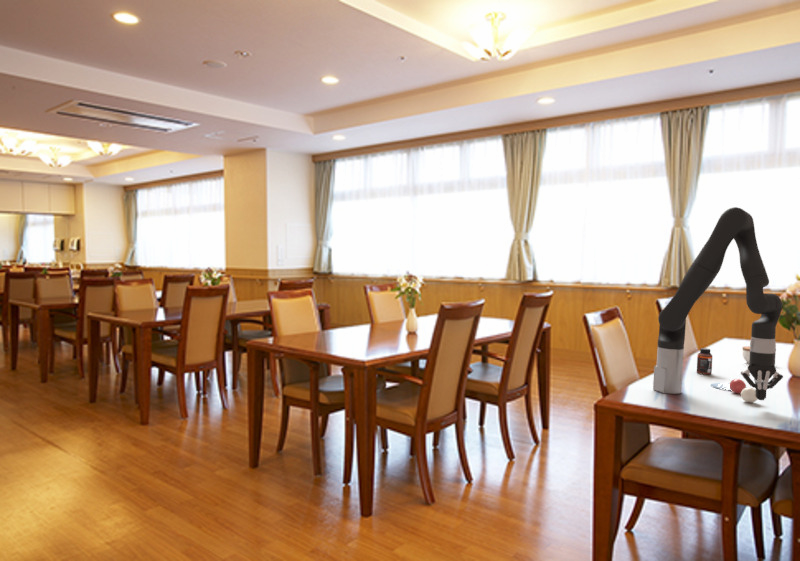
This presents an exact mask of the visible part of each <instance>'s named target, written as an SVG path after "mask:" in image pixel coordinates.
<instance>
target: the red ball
mask: <svg viewBox="0 0 800 561" xmlns="http://www.w3.org/2000/svg"><path fill="white" fill-rule="evenodd" d="M729 384H730V389H731V390H732V391H733V393H735V394H741V391H742V390H743V389H744V388H746V387H747V385H746V383H745V382H744V381H743V380H742V379H740V378H734V379H732V380H731V381H730V382H729ZM732 391H731V392H732Z"/></svg>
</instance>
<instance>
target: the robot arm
mask: <svg viewBox="0 0 800 561" xmlns="http://www.w3.org/2000/svg"><path fill="white" fill-rule="evenodd" d="M756 237H757V236H756V230H755V223H754V218H753V216H752V215H751V214H750V213H749V212H747V211H746V210H744V209H743V208H740V207H730V208H727V209H726V210H725V211H724V212H723V213H722V214H721V215H720V217H719V218H718V221H717V222H716V224H715V226H714V228H713V231H712V232H711V234H710V236H709V238H708V239H707V241H706V242H705V244H704V245H703V247H702V248H701V250H700V251H699V253H698V255H697V256H696V258H694V260H693V262H692V263H691V264H690V267H689V268H688V269H687V271H686V273H685V275H684V276H683V279H682V281H681V282H680V285H678V286H679V287H678V288H677V290H676V292H675V293H674V295H673V297H672V298H671V299H670V301H669V302H668V303H667V305H665V307H664V308H663V309H662V310H661V311H660V312H659V314H658V317H657V320H658V324H659V325H658V326H659V327H658V328H659V330H658V337H657V351H656V365H654V366H653V382H652V385H653V386H652V390H654V391H656V392H658V393H659V392H660V393H663V394H670V395H671V394H674V395H678V394H682V389H683V388H682V385H683V368H684V353H685V352H684V351H685V349H684V348H685V339H686V327H687V326H686V324H687V317H688V315H689V314H690V312H691V310H692V308H693V307H694V304H695V303H696V302H697V301H698V300H699V299H700V297H701V296H702V295H703V294H704V293H705V292H706V291H707V289H708V288H710V285H712V283H713V282H714V280H715V279H716V277H717V275H718V274H719V272H720V271H721V269H722V266H723V263H724V259H725V257H726V256H725V255H726V252H727V249H728V247H729V245H730V244H731V243H732V242H733V240H734V242H735V243H736V245H737V246H736V247H737V250H738V254H739V266H740V270H741V274H742V276H743V280H744V283H745V287H746V289H745V293H746V294H745V296H746V298H745V300H746V305H747V307H748V309H749V311H751V312H752V313H753V314H757V315H760V317H759V319H756V320H754V321H753V322H752V323H751V337H750V343H749V346H750V360H749V365H748V366H747V369H746V370H743V371H741V372H740V375H741V376H742V377H743V379H744V380H745V381H746V383H747V384H748V385H749V387H751V388H753V389H755V390H756V394H755V396H756V398H757V400H758V401H765V400H766V398H767V390H769V389H773V388H775V386H776V385H777V384H778V383H779V382H780V381H781V380H782V379H783V378H784V375H782V374H781V373H779V372H778V371H777V369H776V366H775V365H776V354H777V353H776V351H777V345H776V332H777V331H776V327H777V324H778V322H779V319H780V316H781V313H782V308H783V302H782V299H781V298H780V296H779V295H778V294H775V293H764V288H765V287H767V286H769V283H770V280H769V276H768V273H767V271H766V266H765V264H764V261H763V259H762V256H761V253H760V250H759V246H758V243H757V238H756ZM751 376H752V378H754V380H752V379H751Z"/></svg>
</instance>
